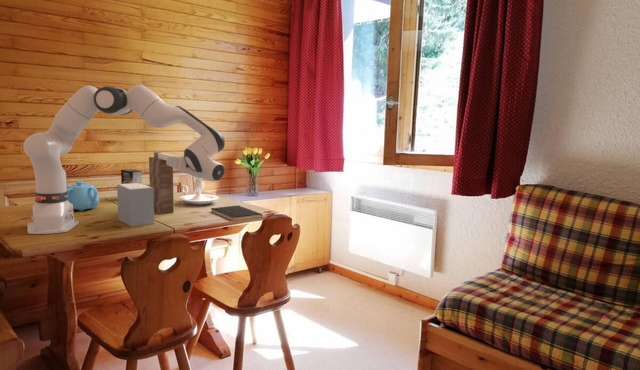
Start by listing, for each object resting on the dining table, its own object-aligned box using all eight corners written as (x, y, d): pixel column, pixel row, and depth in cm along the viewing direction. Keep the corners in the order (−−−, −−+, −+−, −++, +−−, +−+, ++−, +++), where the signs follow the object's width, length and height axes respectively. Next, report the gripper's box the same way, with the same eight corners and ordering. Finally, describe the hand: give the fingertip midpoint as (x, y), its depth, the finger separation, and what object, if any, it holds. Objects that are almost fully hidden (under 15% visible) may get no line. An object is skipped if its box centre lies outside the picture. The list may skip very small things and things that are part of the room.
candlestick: (196, 197, 270) (196, 148, 266) (226, 203, 256) (226, 152, 251) (166, 202, 254) (165, 150, 250) (196, 208, 239) (195, 154, 235)
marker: (176, 161, 217) (176, 155, 217) (171, 161, 216) (171, 155, 215) (159, 157, 232) (159, 152, 232) (154, 157, 230) (153, 152, 230)
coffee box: (121, 199, 258) (120, 169, 256) (130, 197, 264) (130, 168, 261) (132, 200, 254) (132, 171, 251) (142, 199, 259) (141, 170, 257)
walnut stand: (173, 212, 228) (172, 159, 224) (161, 214, 224) (160, 160, 220) (161, 207, 239) (160, 156, 235) (150, 209, 235) (149, 157, 231)
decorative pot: (60, 213, 220) (58, 184, 217) (63, 206, 234) (61, 179, 232) (98, 211, 226) (97, 183, 224) (99, 204, 241) (98, 178, 239)
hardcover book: (232, 222, 216) (232, 217, 216) (210, 212, 234) (210, 208, 234) (262, 218, 226) (262, 213, 226) (239, 209, 244) (239, 205, 243)
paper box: (154, 223, 206) (153, 187, 203) (130, 226, 199) (129, 189, 197) (140, 216, 218) (139, 182, 215) (118, 219, 211) (117, 184, 209)
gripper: (217, 163, 213) (200, 159, 222) (178, 155, 197) (161, 151, 206) (214, 177, 213) (197, 172, 222) (175, 170, 197) (158, 165, 206)
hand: (179, 162), depth 214 cm, fingers open, 8 cm apart
